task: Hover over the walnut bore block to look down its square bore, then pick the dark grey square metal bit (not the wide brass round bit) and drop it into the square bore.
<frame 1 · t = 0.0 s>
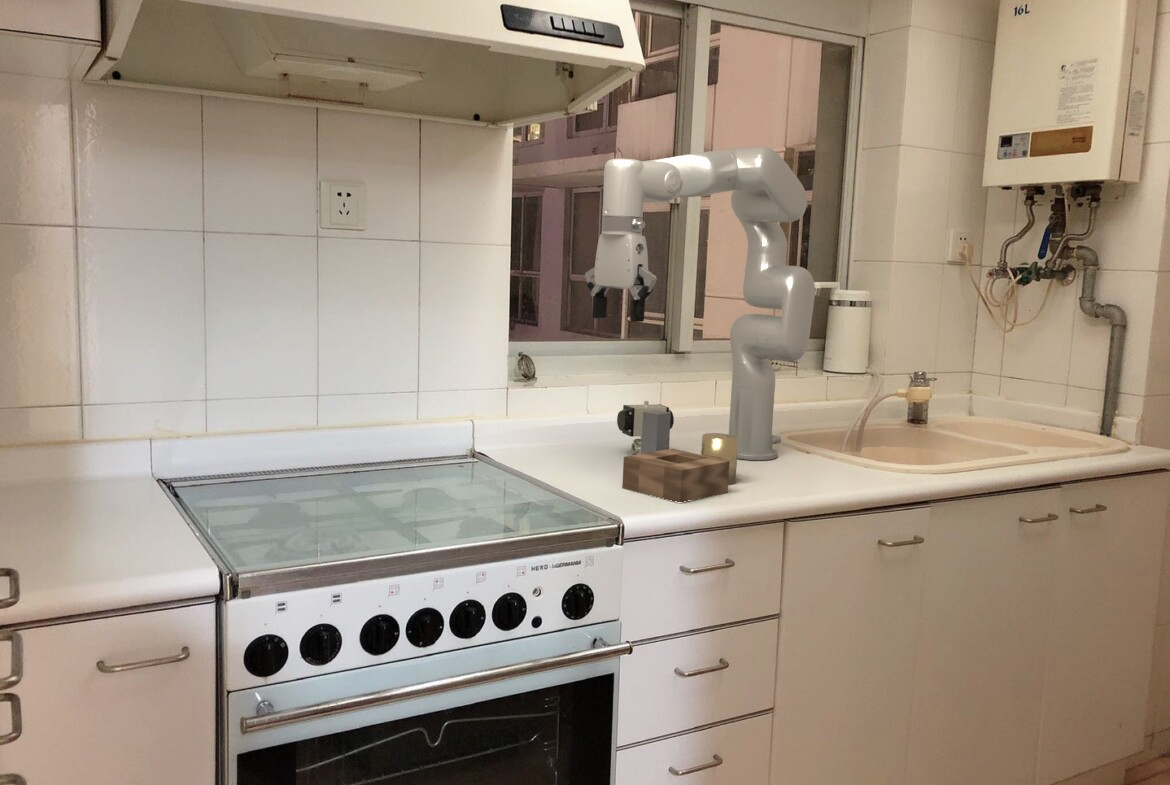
hand: (617, 319, 185), 31 cm above the countertop, tool pointing down, fingers open, 9 cm apart
bore block: (675, 490, 184), on the countertop
pneumatic valve: (642, 455, 216), on the countertop
round bit: (717, 481, 193), on the countertop
square bit: (653, 470, 201), on the countertop
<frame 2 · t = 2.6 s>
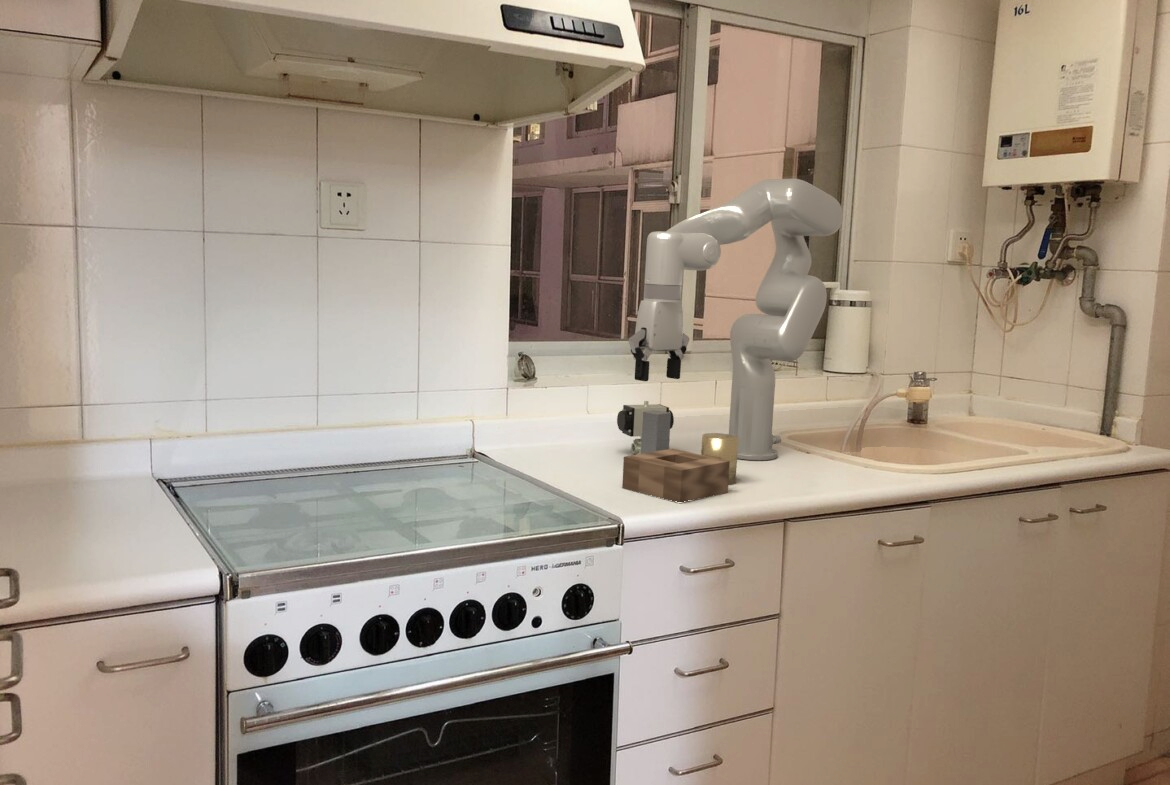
hand: (657, 379, 198), 19 cm above the countertop, tool pointing down, fingers open, 9 cm apart
nothing on the countertop moved.
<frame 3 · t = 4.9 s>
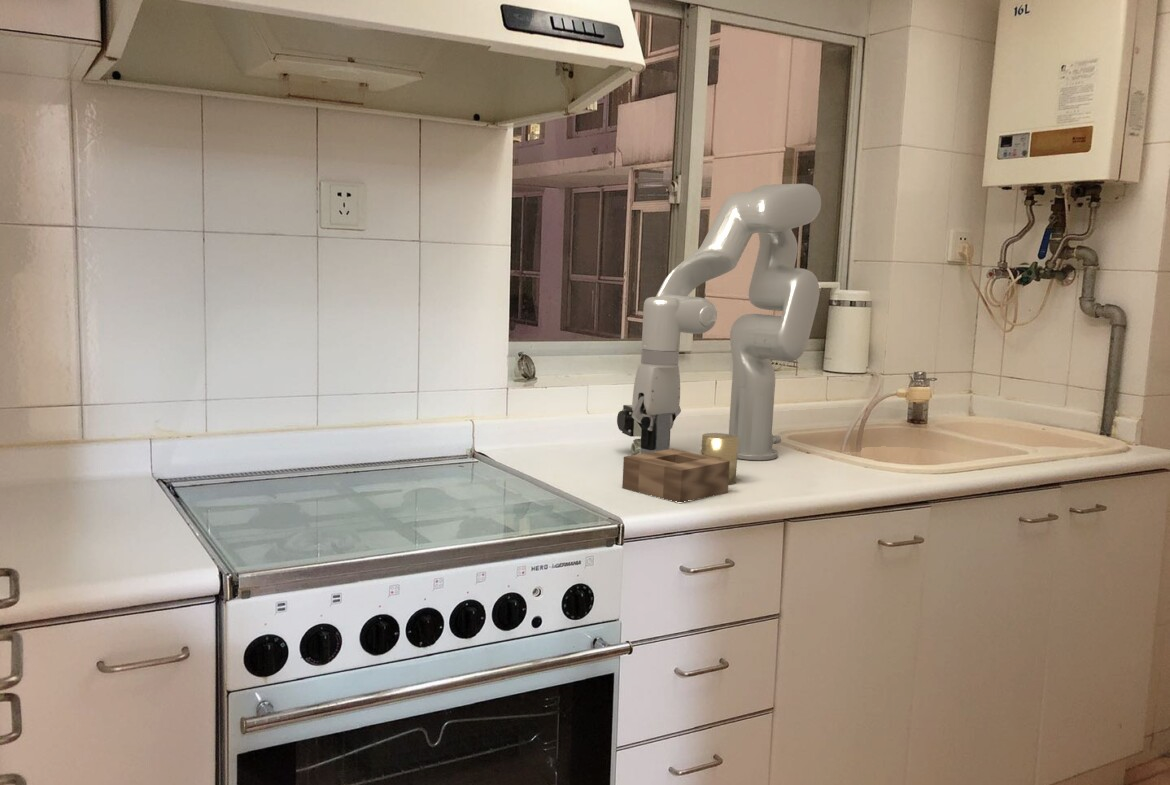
hand: (655, 447, 200), 5 cm above the countertop, tool pointing down, fingers closed on square bit, 4 cm apart
square bit: (653, 470, 201), on the countertop, touching gripper
everything else where it was.
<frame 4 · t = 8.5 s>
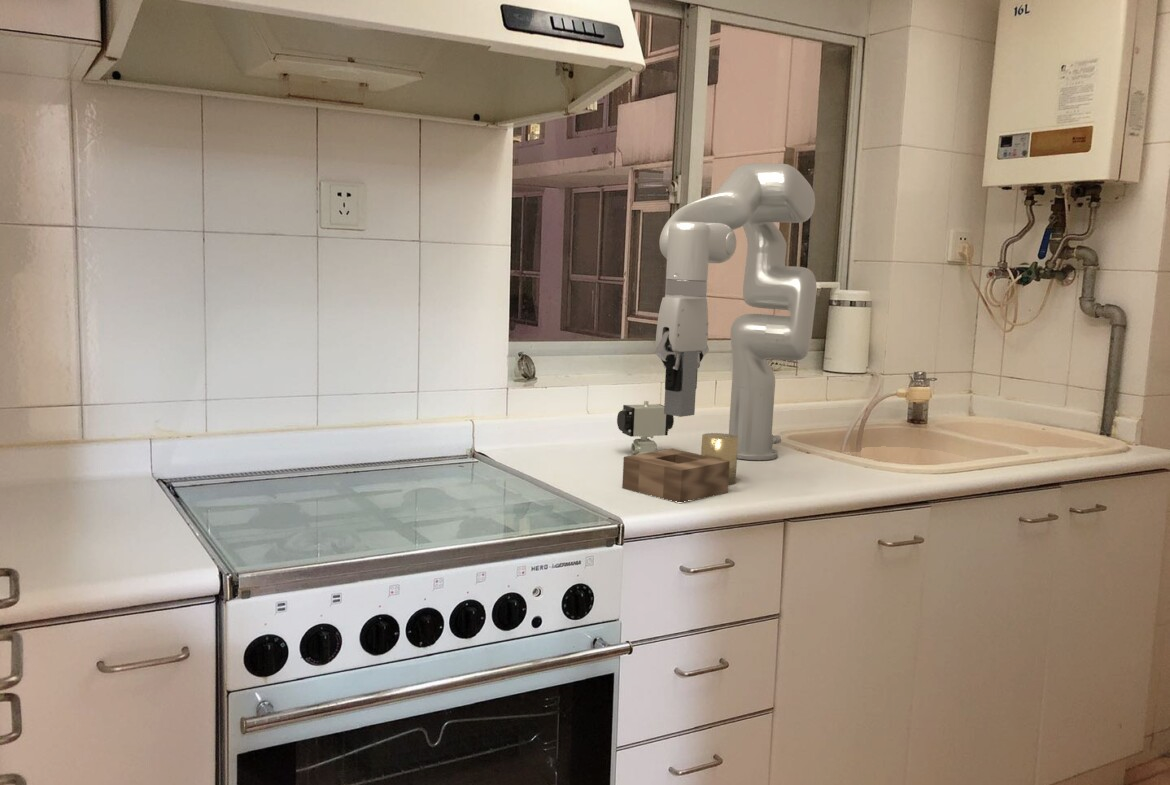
hand: (680, 388, 181), 19 cm above the countertop, tool pointing down, fingers closed on square bit, 4 cm apart
square bit: (679, 414, 182), point 14 cm above the countertop, touching gripper
everything else where it was.
when the fingers open (7 cm above the countertop, at t = 12.2 s): square bit drops 2 cm, resting in bore block.
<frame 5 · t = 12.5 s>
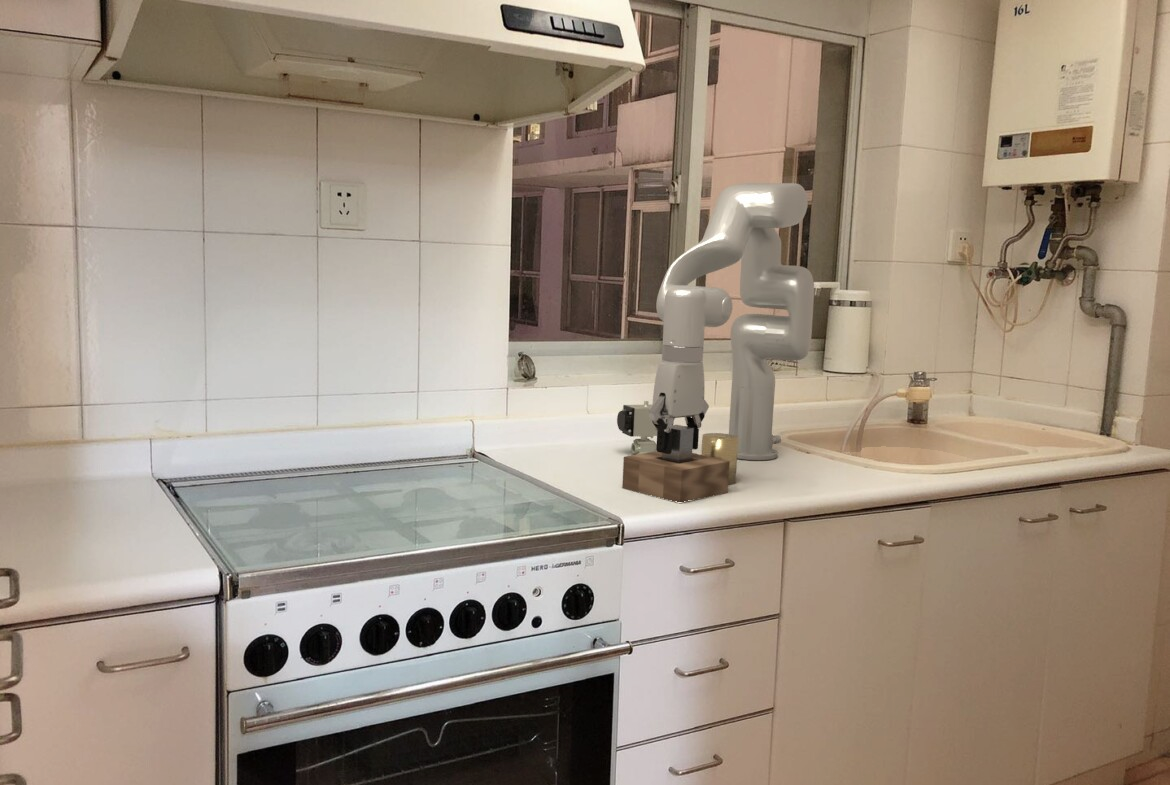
hand: (677, 449, 183), 8 cm above the countertop, tool pointing down, fingers open, 7 cm apart
square bit: (674, 490, 184), resting in bore block
everything else where it was.
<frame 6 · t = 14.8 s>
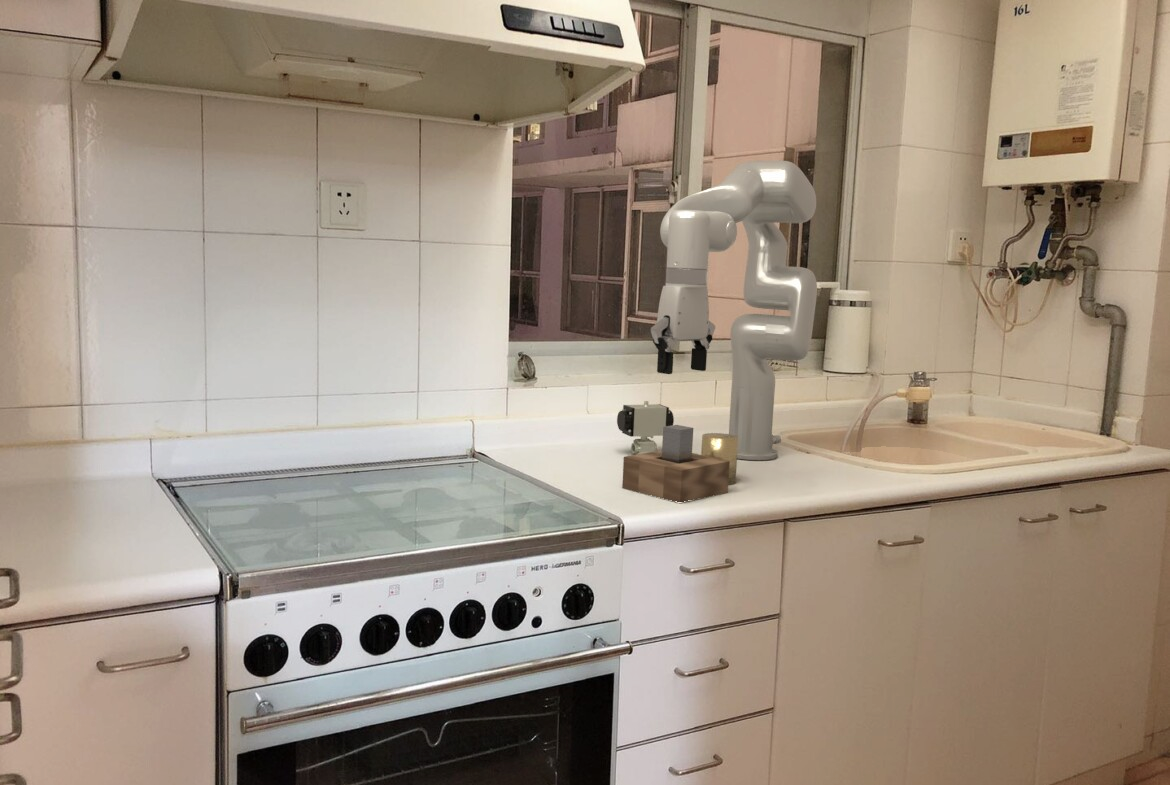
hand: (681, 371, 182), 22 cm above the countertop, tool pointing down, fingers open, 9 cm apart
nothing on the countertop moved.
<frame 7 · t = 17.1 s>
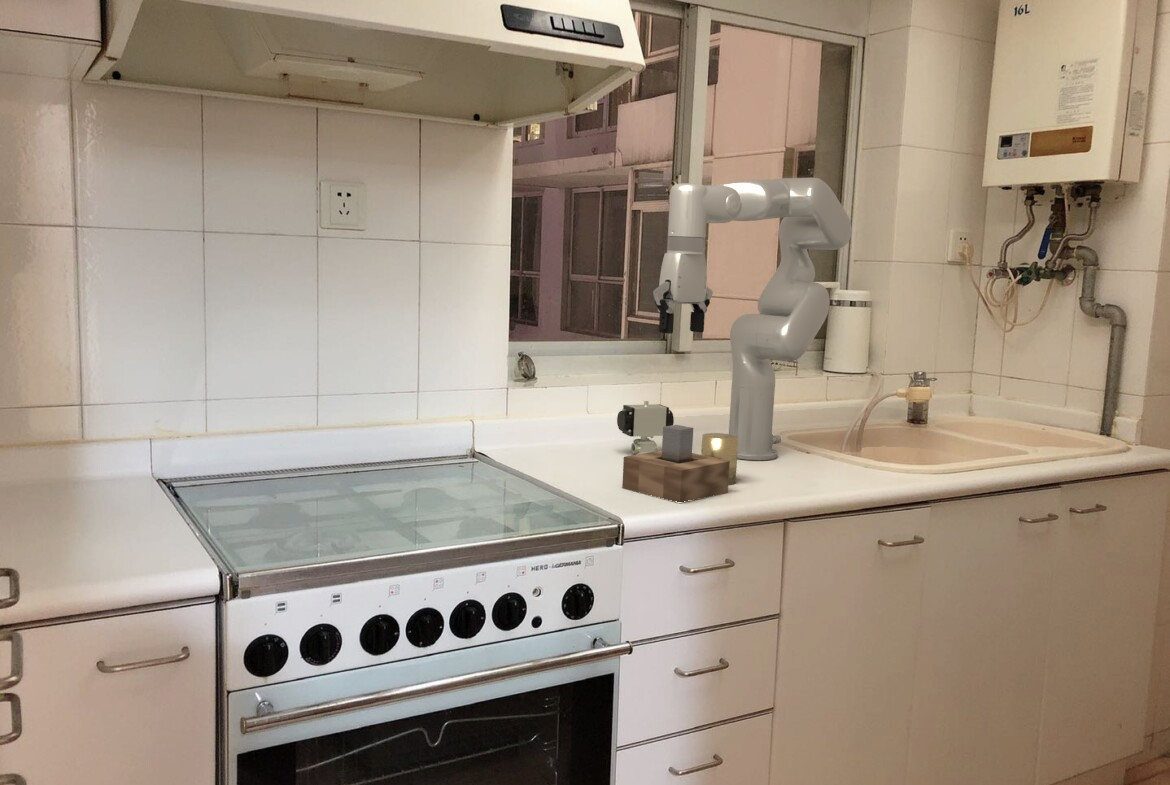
hand: (681, 332, 198), 28 cm above the countertop, tool pointing down, fingers open, 9 cm apart
nothing on the countertop moved.
at the end: square bit 0.1 cm off-centre on the bore block, point 0.0 cm above the bore block's base; square bit tilted 0°; the gripper is holding nothing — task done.
